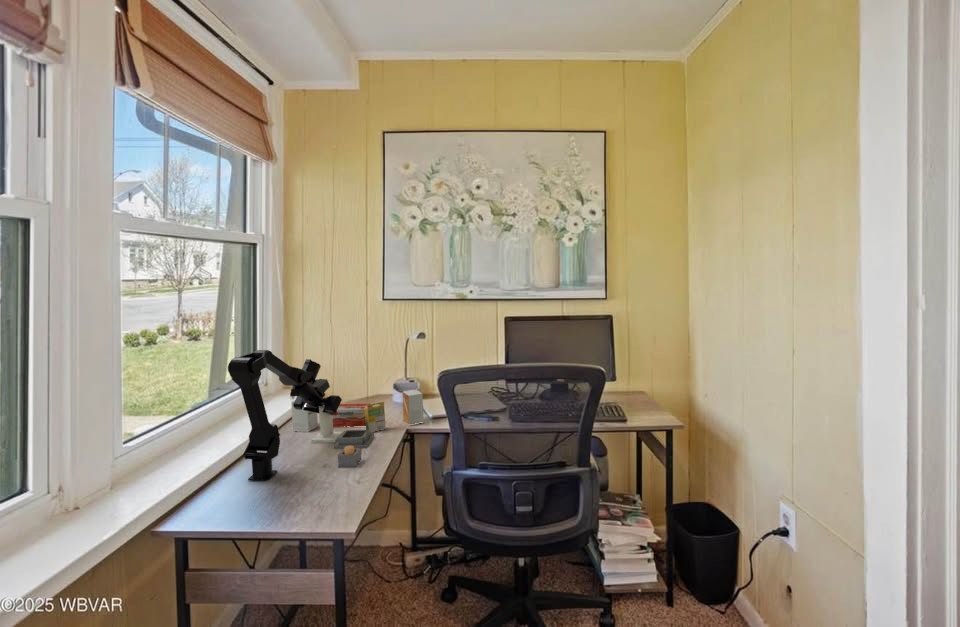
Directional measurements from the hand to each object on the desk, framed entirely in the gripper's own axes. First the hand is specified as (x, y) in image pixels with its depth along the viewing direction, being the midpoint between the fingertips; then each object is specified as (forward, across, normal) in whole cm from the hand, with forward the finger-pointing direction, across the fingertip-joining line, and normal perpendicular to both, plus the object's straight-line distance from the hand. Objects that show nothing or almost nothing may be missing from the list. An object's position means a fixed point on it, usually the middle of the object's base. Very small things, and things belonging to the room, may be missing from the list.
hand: (328, 413), depth 183 cm
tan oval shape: (-7, -24, +20) cm, 32 cm away
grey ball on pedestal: (+4, 0, +6) cm, 8 cm away
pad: (+6, 0, +8) cm, 10 cm away
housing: (+5, -13, +8) cm, 16 cm away
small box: (+25, -23, -12) cm, 36 cm away
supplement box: (+11, +16, +3) cm, 20 cm away
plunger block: (-7, -24, +20) cm, 32 cm away
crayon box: (+15, -13, -2) cm, 20 cm away
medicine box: (+19, +1, -5) cm, 19 cm away
